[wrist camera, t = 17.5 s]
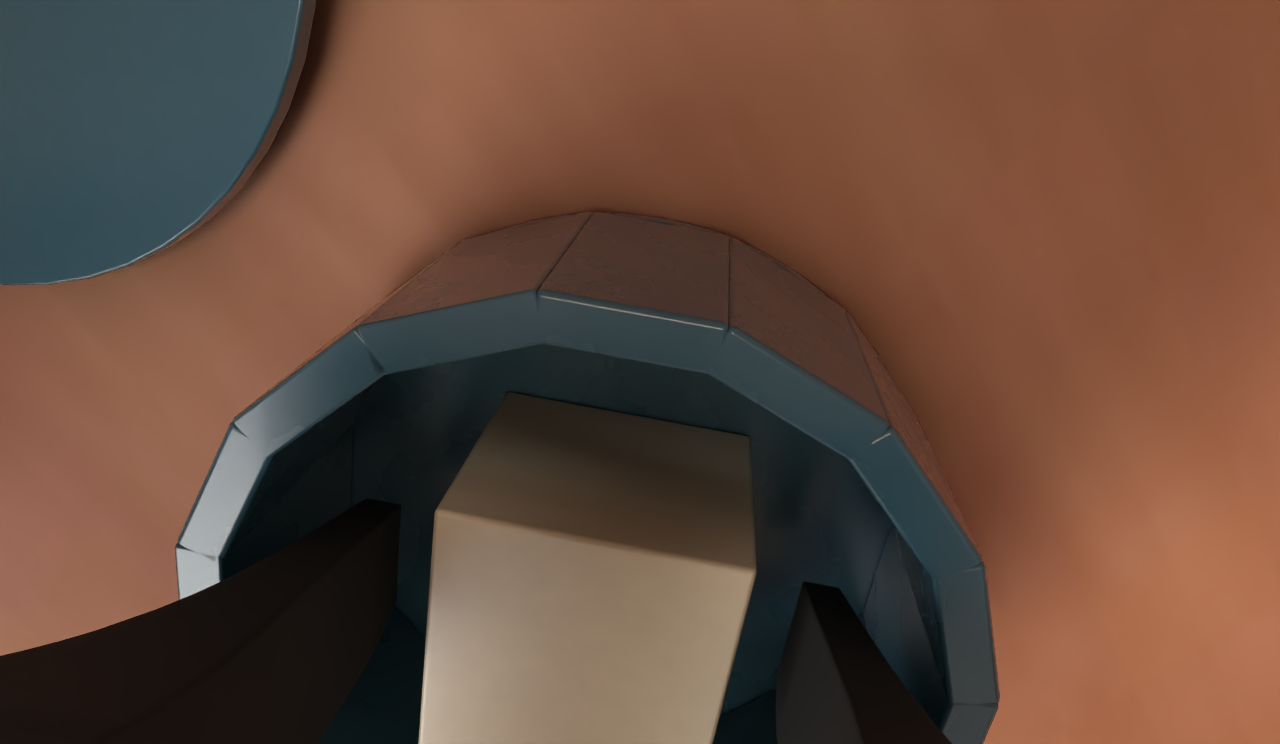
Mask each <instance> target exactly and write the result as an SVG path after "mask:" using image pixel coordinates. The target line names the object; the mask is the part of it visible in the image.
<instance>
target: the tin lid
mask: <svg viewBox="0 0 1280 744" xmlns="http://www.w3.org/2000/svg"><path fill="white" fill-rule="evenodd" d="M315 7H316V0H0V284H2V285H50V284H56V283H63V282H69V281H75V280H82V279H88V278H93V277H96V276H99V275H102V274H105V273H108V272H111V271H115V270H118V269H121V268H124V267H127V266H130V265H133V264H135V263H138V262H140V261H143V260H145V259H147V258H149V257H151V256H153V255H155V254H157V253H159V252H161V251H162V250H164V249H166V248H168V247H170V246H172V245H174V244H176V243H178V242H180V241H181V240H183V239H184V238H186V237H187V236H188V235H190V234H191V233H192V232H194V231H195V230H196V229H198V228H199V227H201V226H202V225H203V224H205V223H206V222H207V221H209V220H210V219H211V218H213V217H214V216H215V215H216V214H217V213H218V212H219V211H220V210H221V209H222V208H223V207H224V206H225V205H226V203H227V202H228V201H229V200H230V199H231V198H232V197H233V196H234V195H235V194H236V193H237V192H238V191H239V190H240V189H241V188H242V187H243V186H244V184H245V183H246V181H247V180H248V179H249V177H250V176H251V174H252V173H253V172H254V170H255V169H256V167H257V166H258V164H259V163H260V162H261V160H262V159H263V157H264V156H265V154H266V153H267V152H268V150H269V148H270V146H271V144H272V142H273V140H274V138H275V136H276V134H277V132H278V130H279V128H280V126H281V124H282V122H283V120H284V118H285V116H286V114H287V112H288V110H289V108H290V105H291V102H292V99H293V96H294V93H295V90H296V87H297V84H298V81H299V78H300V75H301V72H302V69H303V66H304V63H305V60H306V55H307V50H308V44H309V39H310V34H311V28H312V23H313V18H314V13H315Z"/></svg>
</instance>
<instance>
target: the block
mask: <svg viewBox="0 0 1280 744" xmlns="http://www.w3.org/2000/svg"><path fill="white" fill-rule="evenodd" d="M756 574H757V569H756V547H755V526H754V505H753V483H752V462H751V441H750V438H749V437H747V436H743V435H738V434H732V433H727V432H722V431H716V430H711V429H706V428H700V427H695V426H689V425H684V424H679V423H673V422H668V421H662V420H657V419H652V418H646V417H641V416H636V415H630V414H625V413H619V412H614V411H609V410H603V409H598V408H592V407H587V406H582V405H576V404H571V403H566V402H560V401H555V400H549V399H544V398H539V397H533V396H528V395H522V394H517V393H512V392H509V393H506V395H505V396H504V398H503V400H502V401H501V403H500V405H499V406H498V408H497V410H496V411H495V413H494V415H493V416H492V418H491V420H490V421H489V423H488V424H487V426H486V428H485V429H484V431H483V433H482V434H481V436H480V438H479V439H478V441H477V443H476V444H475V446H474V448H473V449H472V451H471V453H470V454H469V456H468V458H467V459H466V461H465V462H464V464H463V466H462V467H461V469H460V471H459V472H458V474H457V476H456V477H455V479H454V481H453V482H452V484H451V486H450V487H449V489H448V491H447V492H446V494H445V496H444V497H443V499H442V500H441V502H440V504H439V505H438V507H437V509H436V510H435V513H434V527H433V541H432V556H431V570H430V584H429V598H428V613H427V627H426V641H425V655H424V670H423V684H422V698H421V712H420V727H419V741H418V744H713V742H714V738H715V734H716V730H717V726H718V722H719V718H720V714H721V711H722V707H723V703H724V699H725V695H726V691H727V687H728V683H729V679H730V675H731V672H732V668H733V664H734V660H735V656H736V652H737V648H738V644H739V640H740V637H741V633H742V629H743V625H744V621H745V617H746V613H747V609H748V605H749V601H750V598H751V594H752V590H753V586H754V582H755V578H756Z"/></svg>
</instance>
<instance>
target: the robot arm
mask: <svg viewBox="0 0 1280 744" xmlns="http://www.w3.org/2000/svg"><path fill="white" fill-rule="evenodd" d="M400 521H401V505H400V504H394V503H389V502H384V501H379V500H373V499H368V498H366V499H365V500H363V501H361V502H359V503H358V504H356V505H354V506H353V507H351V508H349V509H348V510H346V511H344V512H343V513H341V514H340V515H338V516H336V517H335V518H333V519H331V520H330V521H328V522H327V523H325V524H323V525H322V526H320V527H318V528H317V529H315V530H313V531H312V532H310V533H308V534H307V535H305V536H303V537H302V538H300V539H298V540H297V541H295V542H293V543H291V544H290V545H288V546H286V547H285V548H283V549H281V550H280V551H278V552H276V553H274V554H272V555H270V556H269V557H267V558H265V559H263V560H261V561H259V562H257V563H255V564H253V565H251V566H250V567H248V568H246V569H244V570H242V571H240V572H238V573H236V574H234V575H233V576H231V577H229V578H227V579H225V580H223V581H221V582H219V583H217V584H214V585H212V586H210V587H208V588H206V589H204V590H201V591H199V592H197V593H195V594H192V595H190V596H188V597H185V598H183V599H180V600H178V601H176V602H173V603H171V604H169V605H166V606H164V607H161V608H158V609H156V610H153V611H150V612H148V613H145V614H142V615H139V616H136V617H133V618H130V619H127V620H125V621H122V622H119V623H116V624H113V625H110V626H107V627H105V628H102V629H99V630H96V631H93V632H89V633H86V634H83V635H79V636H76V637H72V638H69V639H65V640H62V641H58V642H55V643H51V644H47V645H43V646H39V647H35V648H32V649H28V650H24V651H20V652H15V653H11V654H7V655H3V656H0V744H318V743H319V742H320V740H321V738H322V737H323V735H324V734H325V732H326V730H327V729H328V727H329V725H330V724H331V722H332V720H333V719H334V717H335V716H336V714H337V712H338V711H339V709H340V707H341V706H342V704H343V703H344V701H345V699H346V698H347V696H348V694H349V693H350V691H351V689H352V688H353V686H354V684H355V683H356V681H357V680H358V678H359V676H360V675H361V673H362V671H363V670H364V668H365V666H366V665H367V663H368V661H369V659H370V658H371V656H372V654H373V653H374V651H375V648H376V646H377V644H378V642H379V640H380V637H381V635H382V633H383V631H384V629H385V626H386V624H387V622H388V619H389V617H390V615H391V612H392V610H393V608H394V605H395V603H396V598H397V579H398V559H399V540H400ZM776 733H777V743H778V744H952V743H951V742H950V741H949V739H948V738H947V737H946V736H945V735H944V734H943V733H942V732H941V730H940V729H939V728H938V727H937V726H936V725H935V723H934V722H933V721H932V720H931V719H930V717H929V716H928V715H927V714H926V712H925V711H924V710H923V709H922V707H921V706H920V705H919V704H918V702H917V701H916V700H915V698H914V697H913V696H912V695H911V693H910V692H909V691H908V689H907V688H906V687H905V685H904V684H903V683H902V681H901V680H900V679H899V677H898V676H897V674H896V673H895V672H894V670H893V669H892V667H891V666H890V664H889V663H888V662H887V660H886V659H885V657H884V656H883V654H882V653H881V651H880V650H879V648H878V647H877V645H876V644H875V642H874V641H873V639H872V638H871V636H870V635H869V633H868V632H867V630H866V629H865V627H864V626H863V624H862V622H861V621H860V619H859V618H858V616H857V615H856V613H855V611H854V610H853V608H852V607H851V605H850V604H849V602H848V601H847V599H846V597H845V596H844V594H843V593H842V591H841V590H840V588H837V587H832V586H826V585H821V584H816V583H811V582H805V581H803V584H802V588H801V591H800V595H799V598H798V602H797V605H796V609H795V612H794V616H793V619H792V623H791V626H790V630H789V633H788V637H787V640H786V644H785V647H784V651H783V654H782V658H781V661H780V665H779V668H778V672H777V688H776Z"/></svg>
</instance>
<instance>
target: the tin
mask: <svg viewBox="0 0 1280 744" xmlns="http://www.w3.org/2000/svg"><path fill="white" fill-rule="evenodd" d="M509 392H512V393H517V394H522V395H528V396H533V397H539V398H544V399H549V400H555V401H560V402H566V403H571V404H576V405H582V406H587V407H592V408H598V409H603V410H609V411H614V412H619V413H625V414H630V415H636V416H641V417H646V418H652V419H657V420H662V421H668V422H673V423H679V424H684V425H689V426H695V427H700V428H706V429H711V430H716V431H722V432H727V433H732V434H738V435H743V436H747V437H749V438H750V441H751V462H752V483H753V505H754V526H755V547H756V569H757V574H756V578H755V582H754V586H753V590H752V594H751V598H750V601H749V605H748V609H747V613H746V617H745V621H744V625H743V629H742V633H741V637H740V640H739V644H738V648H737V652H736V656H735V660H734V664H733V668H732V672H731V675H730V679H729V683H728V687H727V691H726V695H725V699H724V703H723V707H722V711H721V714H720V718H719V722H718V726H717V730H716V734H715V738H714V742H713V744H778V743H777V733H776V688H777V672H778V668H779V665H780V661H781V658H782V654H783V651H784V647H785V644H786V640H787V637H788V633H789V630H790V626H791V623H792V619H793V616H794V612H795V609H796V605H797V602H798V598H799V595H800V591H801V588H802V584H803V581H805V582H811V583H816V584H821V585H826V586H832V587H837V588H840V590H841V591H842V593H843V594H844V596H845V597H846V599H847V601H848V602H849V604H850V605H851V607H852V608H853V610H854V611H855V613H856V615H857V616H858V618H859V619H860V621H861V622H862V624H863V626H864V627H865V629H866V630H867V632H868V633H869V635H870V636H871V638H872V639H873V641H874V642H875V644H876V645H877V647H878V648H879V650H880V651H881V653H882V654H883V656H884V657H885V659H886V660H887V662H888V663H889V664H890V666H891V667H892V669H893V670H894V672H895V673H896V674H897V676H898V677H899V679H900V680H901V681H902V683H903V684H904V685H905V687H906V688H907V689H908V691H909V692H910V693H911V695H912V696H913V697H914V698H915V700H916V701H917V702H918V704H919V705H920V706H921V707H922V709H923V710H924V711H925V712H926V714H927V715H928V716H929V717H930V719H931V720H932V721H933V722H934V723H935V725H936V726H937V727H938V728H939V729H940V730H941V732H942V733H943V734H944V735H945V736H946V737H947V738H948V739H949V741H950V742H951V743H952V744H983V742H984V740H985V737H986V735H987V733H988V730H989V728H990V726H991V723H992V721H993V719H994V716H995V714H996V712H997V709H998V702H999V699H1000V693H999V684H998V675H997V665H996V656H995V647H994V638H993V629H992V620H991V610H990V601H989V592H988V583H987V574H986V566H985V564H984V561H983V559H982V555H981V553H980V551H979V549H978V547H977V545H976V543H975V541H974V538H973V536H972V534H971V532H970V530H969V528H968V526H967V523H966V521H965V519H964V517H963V515H962V513H961V511H960V509H959V506H958V504H957V502H956V500H955V498H954V496H953V494H952V492H951V489H950V487H949V485H948V483H947V481H946V479H945V477H944V475H943V472H942V470H941V468H940V466H939V464H938V462H937V460H936V458H935V455H934V453H933V451H932V449H931V447H930V445H929V443H928V441H927V438H926V436H925V434H924V432H923V430H922V428H921V426H920V423H919V421H918V419H917V417H916V415H915V413H914V411H913V409H912V408H911V406H910V405H909V403H908V402H907V400H906V399H905V397H904V396H903V394H902V393H901V391H900V390H899V388H898V386H897V385H896V383H895V382H894V380H893V379H892V377H891V376H890V374H889V373H888V371H887V369H886V367H885V366H884V364H883V362H882V360H881V359H880V357H879V355H878V353H877V352H876V351H875V349H874V348H873V347H872V346H871V344H870V343H869V342H868V340H867V339H866V338H865V337H864V335H863V334H862V332H861V331H860V329H859V328H858V326H857V325H856V323H855V322H854V320H853V319H852V317H851V316H850V314H849V313H847V312H846V311H844V309H843V307H842V306H840V305H839V304H837V303H836V302H834V301H832V300H831V299H829V298H828V297H827V296H826V295H825V294H824V293H823V292H822V291H821V290H819V289H818V288H817V287H815V286H814V285H813V284H811V283H810V282H809V281H807V280H806V279H805V278H803V277H802V276H800V275H799V274H798V273H796V272H795V271H794V270H792V269H791V268H790V267H788V266H787V265H785V264H783V263H781V262H779V261H778V260H776V259H774V258H772V257H770V256H768V255H767V254H765V253H763V252H761V251H759V250H758V249H756V248H754V247H752V246H750V245H748V244H746V243H743V242H741V241H738V240H737V239H735V238H730V237H728V236H727V235H725V234H720V233H718V232H715V231H712V230H710V229H707V228H703V227H699V226H695V225H691V224H687V223H683V222H679V221H675V220H671V219H667V218H662V217H653V216H644V215H635V214H626V213H601V212H594V213H593V212H592V211H588V212H584V213H577V214H568V215H562V216H555V217H549V218H543V219H536V220H531V221H527V222H524V223H521V224H517V225H514V226H510V227H507V228H504V229H500V230H497V231H494V232H491V233H488V234H485V235H481V236H476V237H472V238H467V239H465V240H463V241H461V242H459V243H457V244H456V245H455V246H453V247H452V248H451V249H449V250H448V251H447V252H445V253H444V254H443V255H442V256H440V257H439V258H438V259H436V260H435V261H434V262H432V263H431V264H430V265H428V266H427V267H426V268H424V269H423V270H421V271H420V272H419V273H417V274H416V275H415V276H414V277H412V278H411V279H410V280H408V281H407V282H406V283H404V284H403V285H402V286H400V287H399V288H398V289H397V290H395V291H394V292H393V293H391V294H390V295H389V296H387V297H386V298H385V299H383V300H382V301H381V302H379V303H378V304H377V305H375V306H374V307H373V308H371V309H370V310H369V311H367V312H366V313H365V314H364V315H362V316H361V317H360V318H359V319H357V320H356V321H355V322H354V323H352V324H351V325H350V326H349V327H347V328H346V329H345V330H344V331H342V332H341V333H340V334H339V335H337V336H336V337H335V338H334V339H332V340H331V341H330V342H328V343H327V344H326V345H325V346H323V347H322V348H321V349H320V350H318V351H317V352H316V353H315V354H313V355H312V356H311V357H310V358H308V359H307V360H306V361H305V362H303V363H302V364H301V365H300V366H298V367H297V368H296V369H295V370H293V371H292V372H291V373H290V374H288V375H287V376H286V377H285V378H283V379H282V380H281V381H279V382H278V383H277V384H276V385H274V386H273V387H272V388H271V389H269V390H268V391H267V392H266V393H264V394H263V395H262V396H261V397H259V398H258V399H257V400H256V401H254V402H253V403H252V404H251V405H249V406H248V407H247V408H246V409H244V410H243V411H242V412H241V413H239V414H238V415H237V416H235V417H234V419H233V422H232V423H230V425H229V427H228V430H227V432H226V434H225V436H224V438H223V441H222V443H221V445H220V447H219V450H218V452H217V454H216V456H215V458H214V461H213V463H212V465H211V467H210V469H209V472H208V474H207V476H206V478H205V480H204V483H203V485H202V487H201V489H200V492H199V494H198V496H197V498H196V500H195V503H194V505H193V507H192V509H191V511H190V514H189V516H188V518H187V520H186V523H185V525H184V527H183V529H182V531H181V534H180V536H179V538H178V543H177V544H176V546H175V554H176V567H177V580H178V594H179V600H180V599H183V598H185V597H188V596H190V595H192V594H195V593H197V592H199V591H201V590H204V589H206V588H208V587H210V586H212V585H214V584H217V583H219V582H221V581H223V580H225V579H227V578H229V577H231V576H233V575H234V574H236V573H238V572H240V571H242V570H244V569H246V568H248V567H250V566H251V565H253V564H255V563H257V562H259V561H261V560H263V559H265V558H267V557H269V556H270V555H272V554H274V553H276V552H278V551H280V550H281V549H283V548H285V547H286V546H288V545H290V544H291V543H293V542H295V541H297V540H298V539H300V538H302V537H303V536H305V535H307V534H308V533H310V532H312V531H313V530H315V529H317V528H318V527H320V526H322V525H323V524H325V523H327V522H328V521H330V520H331V519H333V518H335V517H336V516H338V515H340V514H341V513H343V512H344V511H346V510H348V509H349V508H351V507H353V506H354V505H356V504H358V503H359V502H361V501H363V500H365V499H366V498H368V499H373V500H379V501H384V502H389V503H394V504H400V505H401V521H400V540H399V559H398V579H397V598H396V603H395V605H394V608H393V610H392V612H391V615H390V617H389V619H388V622H387V624H386V626H385V629H384V631H383V633H382V635H381V637H380V640H379V642H378V644H377V646H376V648H375V651H374V653H373V654H372V656H371V658H370V659H369V661H368V663H367V665H366V666H365V668H364V670H363V671H362V673H361V675H360V676H359V678H358V680H357V681H356V683H355V684H354V686H353V688H352V689H351V691H350V693H349V694H348V696H347V698H346V699H345V701H344V703H343V704H342V706H341V707H340V709H339V711H338V712H337V714H336V716H335V717H334V719H333V720H332V722H331V724H330V725H329V727H328V729H327V730H326V732H325V734H324V735H323V737H322V738H321V740H320V742H319V743H318V744H418V741H419V727H420V712H421V698H422V684H423V670H424V655H425V641H426V627H427V613H428V598H429V584H430V570H431V556H432V541H433V527H434V513H435V510H436V509H437V507H438V505H439V504H440V502H441V500H442V499H443V497H444V496H445V494H446V492H447V491H448V489H449V487H450V486H451V484H452V482H453V481H454V479H455V477H456V476H457V474H458V472H459V471H460V469H461V467H462V466H463V464H464V462H465V461H466V459H467V458H468V456H469V454H470V453H471V451H472V449H473V448H474V446H475V444H476V443H477V441H478V439H479V438H480V436H481V434H482V433H483V431H484V429H485V428H486V426H487V424H488V423H489V421H490V420H491V418H492V416H493V415H494V413H495V411H496V410H497V408H498V406H499V405H500V403H501V401H502V400H503V398H504V396H505V395H506V393H509Z"/></svg>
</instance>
